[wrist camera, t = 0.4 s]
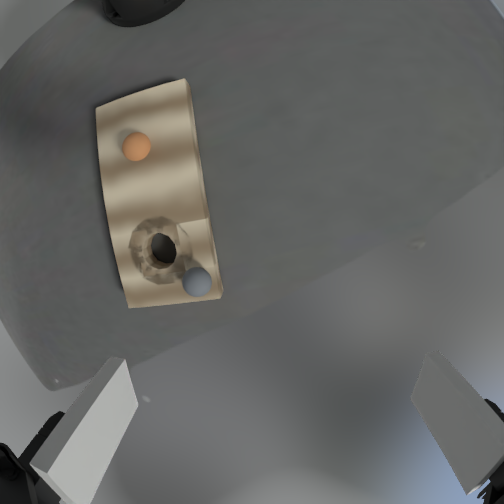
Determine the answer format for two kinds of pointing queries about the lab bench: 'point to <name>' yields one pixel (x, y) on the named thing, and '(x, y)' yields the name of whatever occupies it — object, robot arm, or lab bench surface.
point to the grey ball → (196, 282)
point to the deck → (156, 194)
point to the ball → (136, 146)
